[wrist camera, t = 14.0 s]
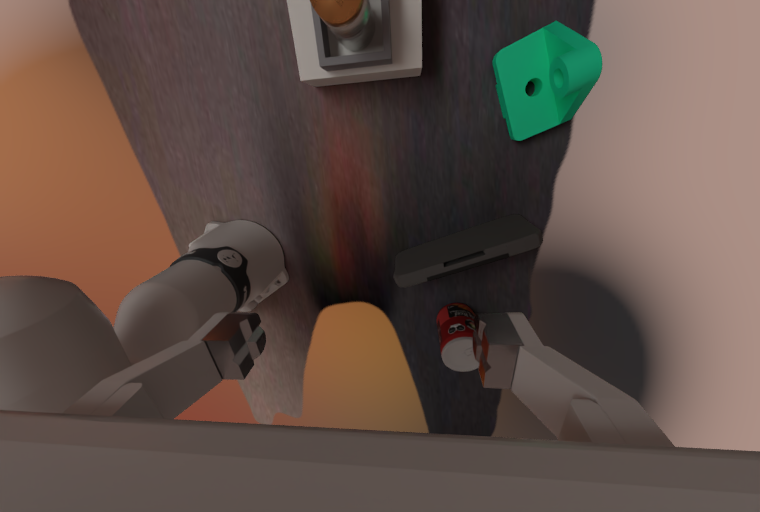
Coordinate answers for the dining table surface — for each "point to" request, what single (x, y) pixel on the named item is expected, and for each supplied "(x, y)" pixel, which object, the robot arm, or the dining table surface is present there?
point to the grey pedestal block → (376, 62)
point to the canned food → (457, 336)
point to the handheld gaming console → (466, 250)
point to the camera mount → (545, 78)
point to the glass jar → (348, 21)
